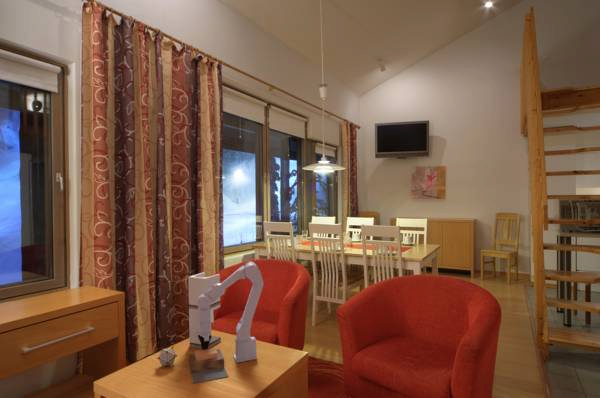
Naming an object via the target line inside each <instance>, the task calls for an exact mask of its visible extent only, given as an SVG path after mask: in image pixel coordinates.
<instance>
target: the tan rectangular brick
mask: <svg viewBox="0 0 600 398" xmlns="http://www.w3.org/2000/svg"><path fill="white" fill-rule="evenodd" d="M194 353H195V358H196V361H201V360H206V359H212V358H217V351H216V347H210V348H209V349H205V350H202V349H200V350H195V351H194Z"/></svg>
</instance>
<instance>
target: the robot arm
mask: <svg viewBox="0 0 600 398" xmlns="http://www.w3.org/2000/svg"><path fill="white" fill-rule="evenodd" d="M246 278H247V279H249V281H250V282H251V284H252V286H251V289H250V291H249V295H248V297H247V301H246V304H245V308H244V310H243V314H242V316H241V317H240V320H239V322H238V323H237V324H236V326H235V331H236V336H235V338H234V339H235V340H234V341H235V346H234V347H235V354H233V359H234V360H235V362H236V363H242V362H247V361H252V360H253V361H254V360H257V359H258V357H257V356H258V355H257V340H256V337H255V336H251V328H252V324H253V322H252V321H253V319H254V316H255V313H256V309H257V306H258V303H259V299H260V298H261V293H262V291H263V287H264V284H265V283H264V279H263V277H262V272H261V271H260V268H259V266H258V265H257V264H256V263H255V262H254V261H247V262H246V263H245V264H243V265H242V266H239V268H238V269H236V270H235V271H234V272H233V273H232V274H230V275H229V276H228V277H227V278H226V279H224V280H223V281H222V282H220V283H217V284H213V285H212V288H210V289H209V290H208V291H206V292H204V293H203V294H202V295H200V296H199V298H198V301H197V306H198V331H196V332H195V334H199V335H198V338H199V340H200V342H201V347H202V349H201V350H205V349H208V346H209V342H210V339H211V335H212V325H211V311H210V304H211V303H212V302H214V301H215V300H217V299H218V298H219V297H220V298H221V296H223V295H224V294H225V293H226V290H227V288H229V287H231V286H232V285H233V284H234V283H236V282H237V281H238V280H245V279H246Z"/></svg>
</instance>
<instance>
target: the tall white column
mask: <svg viewBox="0 0 600 398" xmlns="http://www.w3.org/2000/svg"><path fill="white" fill-rule="evenodd" d="M220 275H221V274H220V273H217V274H213V275H211V276H206V272H203V271H202V272H200V273H197V274H193V275H190V276H188V277H187V278H188V279H187V280H188V281H187V282H188V284H187V285H188V320H189V321H188V322H189V323H188V326H189V327H188V331H189V332H188V333H189V336H188V337H189V347H192V348H197V349H200V350H202V347H201V342H200V340H199V338H198V335H199V334H195V332H196V331H198V306H197V301H198V298H199V296H200V295H202V294H203V293H204V292H206V291H208V290H209V289H210V288H212V285H213V284H217V283H221V276H220ZM219 308H221V296H220V297H219V298H218V299H217V300H215V301H214V302H212V303H211V304H210V311H211V326H212V325H213V324H215V323H214V311H215V310H217V309H219ZM221 341H222V338H221V336H216V335H212V334H211V339H210V342H209V346H208V349H211V348H213V346H215V345H217V344H219V343H220V342H221Z"/></svg>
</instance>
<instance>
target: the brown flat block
mask: <svg viewBox="0 0 600 398" xmlns="http://www.w3.org/2000/svg"><path fill="white" fill-rule="evenodd" d="M216 351H217V358H212V359H206V360H201V361H196V358H195V352H194V353H193V352H192V353H189V354H188V365H189V370H190V374H191V373H195V372H200V371H205V370H211V369H216V368H221V367H225V358H224V355H223V353H222V351H221V349H220V348H218V349H216Z"/></svg>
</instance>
